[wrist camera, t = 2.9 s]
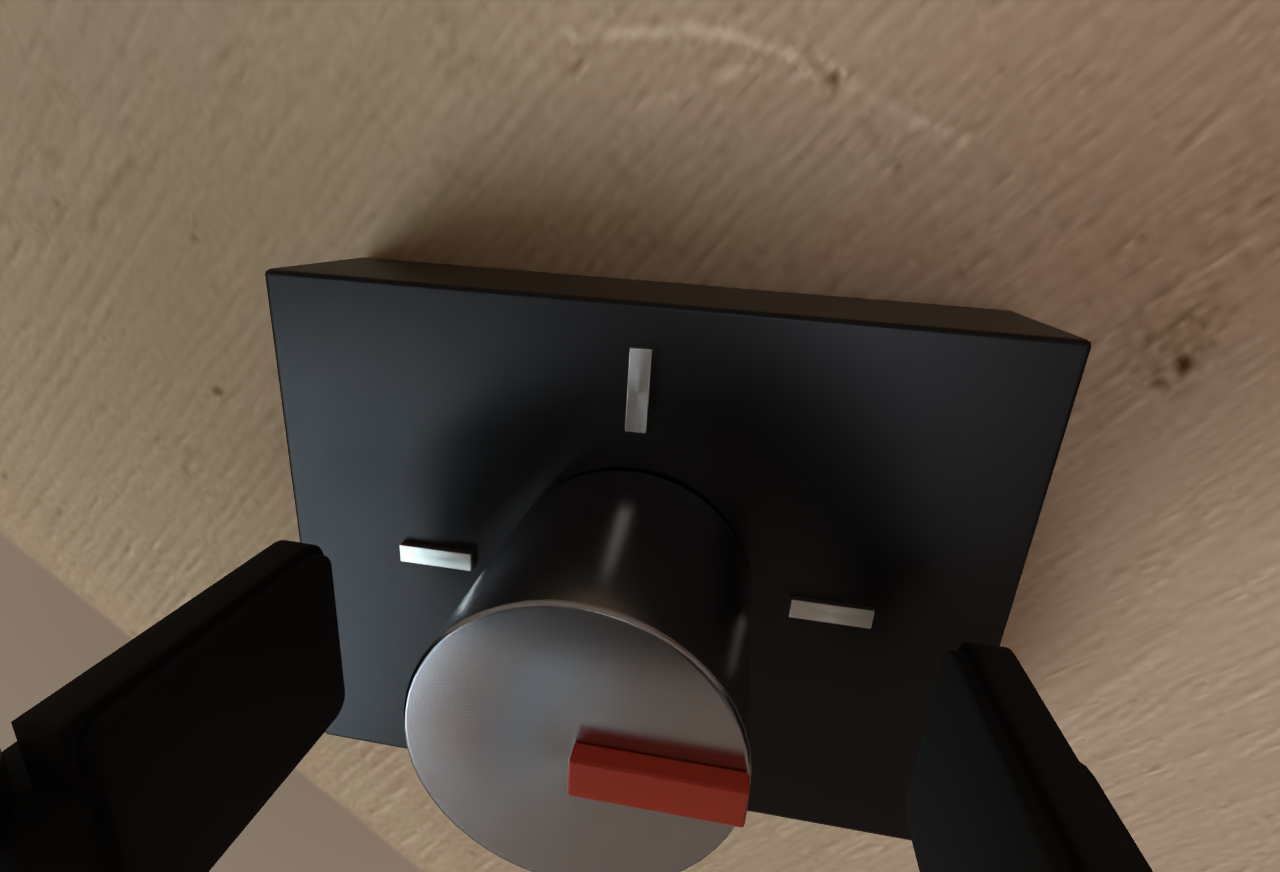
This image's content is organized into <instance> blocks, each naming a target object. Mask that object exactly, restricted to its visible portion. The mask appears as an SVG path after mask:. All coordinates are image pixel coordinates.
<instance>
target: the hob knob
mask: <svg viewBox="0 0 1280 872" xmlns="http://www.w3.org/2000/svg"><path fill="white" fill-rule="evenodd" d="M404 733H405V740H406V745H407V748H408V752H409V755H410V758H411V762H412V764H413V766H414V768H415V770H416V773H417V775H418V777H419V779H420V781H421V782H422V784H423V786H424V787H425V789H426V790H427V792H428V794H429V795H430V797H431V798H432V799H433V800H434V802H435V803H436V804H437V806H438V807H439V808H440V809H441V811H442V812H443V813H444V814H445V815H446V816H447V817H448V818H449V819H450V820H451V821H452V822H453V823H454V824H455V825H456V826H457V827H458V828H459V829H461V830H462V831H463V832H464V833H465V834H467V835H468V836H469V837H470V838H471V839H473V840H474V841H476V842H477V843H479V844H480V845H481V846H483V847H484V848H486V849H487V850H489V851H491V852H492V853H494V854H496V855H498V856H499V857H501V858H503V859H505V860H507V861H509V862H511V863H513V864H515V865H518V866H520V867H522V868H524V869H527V870H530V871H532V872H680V871H683V870H685V869H687V868H688V867H690V866H692V865H694V864H695V863H697V862H699V861H701V860H702V859H703V858H705V857H706V856H707V855H709V854H710V853H711V852H712V851H714V850H715V849H716V848H717V847H718V846H719V845H720V844H721V843H722V842H723V841H724V840H725V838H726V837H727V836H728V835H729V833H730V832H731V830H732V829H733V827H734V826H737V827H743V826H744V825H745V819H746V813H747V807H748V801H749V794H750V786H751V776H752V703H751V616H750V580H749V571H748V567H747V563H746V559H745V556H744V554H743V551H742V549H741V546H740V544H739V542H738V540H737V539H736V537H735V535H734V533H733V532H732V530H731V529H730V528H729V526H728V525H727V524H726V522H725V521H724V520H723V518H722V517H721V516H720V515H719V514H718V513H717V512H716V511H715V510H714V509H713V508H712V507H711V506H710V505H708V504H707V503H706V502H705V501H703V500H702V499H701V498H700V497H698V496H697V495H695V494H694V493H692V492H690V491H689V490H687V489H685V488H684V487H682V486H680V485H678V484H675V483H673V482H671V481H669V480H666V479H663V478H660V477H657V476H654V475H650V474H645V473H639V472H634V471H618V470H615V471H600V472H595V473H590V474H585V475H581V476H578V477H575V478H572V479H569V480H567V481H565V482H563V483H561V484H559V485H557V486H555V487H554V488H552V489H551V490H549V491H548V492H546V493H545V494H544V495H542V496H541V497H540V498H539V499H538V500H537V501H536V502H535V503H534V504H533V505H532V506H531V507H530V508H529V510H528V511H527V512H526V513H525V515H524V516H523V517H522V519H521V520H520V521H519V523H518V524H517V526H516V527H515V528H514V530H513V531H512V532H511V534H510V535H509V536H508V538H507V539H506V541H505V542H504V543H503V545H502V546H501V547H500V549H499V550H498V552H497V553H496V554H495V556H494V557H493V558H492V560H491V561H490V563H489V564H488V565H487V567H486V568H485V569H484V571H483V572H482V573H481V575H480V576H479V578H478V579H477V580H476V582H475V583H474V584H473V586H472V587H471V589H470V590H469V591H468V593H467V594H466V595H465V597H464V598H463V599H462V601H461V602H460V604H459V605H458V606H457V608H456V609H455V610H454V612H453V613H452V615H451V616H450V617H449V619H448V620H447V621H446V623H445V624H444V626H443V627H442V628H441V630H440V631H439V632H438V634H437V635H436V636H435V638H434V639H433V641H432V642H431V643H430V645H429V646H428V647H427V649H426V650H425V652H424V653H423V654H422V656H421V657H420V659H419V661H418V663H417V665H416V666H415V668H414V670H413V672H412V675H411V678H410V681H409V683H408V686H407V690H406V696H405V702H404Z"/></svg>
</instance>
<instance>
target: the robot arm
mask: <svg viewBox="0 0 1280 872" xmlns="http://www.w3.org/2000/svg"><path fill="white" fill-rule="evenodd" d="M344 699H345V686H344V676H343V667H342V658H341V648H340V639H339V630H338V620H337V611H336V602H335V592H334V583H333V573H332V565H331V561H330V559H329V558H328V557H327V556H324V554H323V551H322V550H321V548H320V547H319V546H317V545H313V544H306V543H300V542H293V541H286V540H280V541H278V542H275V543H273V544H272V545H271V546H269V547H268V548H266V549H265V550H263V551H262V552H260V553H259V554H257V555H256V556H254V557H253V558H251V559H250V560H249V561H247V562H246V563H244V564H243V565H241V566H240V567H238V568H237V569H235V570H234V571H232V572H231V573H229V574H228V575H226V576H225V577H224V578H222V579H221V580H219V581H218V582H216V583H215V584H213V585H212V586H210V587H209V588H207V589H206V590H204V591H203V592H201V593H200V594H199V595H197V596H196V597H194V598H193V599H191V600H190V601H188V602H187V603H185V604H184V605H182V606H181V607H179V608H178V609H177V610H175V611H174V612H172V613H171V614H169V615H168V616H166V617H165V618H163V619H162V620H160V621H159V622H157V623H156V624H154V625H153V626H152V627H150V628H149V629H147V630H146V631H144V632H143V633H141V634H140V635H138V636H137V637H135V638H134V639H132V640H131V641H130V642H128V643H127V644H125V645H124V646H122V647H121V648H119V649H118V650H117V651H115V652H114V653H112V654H110V655H109V656H107V657H106V658H105V659H103V660H102V661H100V662H99V663H97V664H96V665H94V666H93V667H91V668H90V669H88V670H87V671H85V672H84V673H83V674H81V675H80V676H78V677H77V678H75V679H74V680H72V681H71V682H69V683H68V684H66V685H65V686H63V687H62V688H61V689H59V690H58V691H56V692H55V693H53V694H52V695H50V696H49V697H47V698H46V699H44V700H43V701H41V702H40V703H38V704H37V705H36V706H34V707H33V708H31V709H30V710H28V711H27V712H25V713H24V714H22V715H21V716H19V717H18V718H16V719H15V720H13V721H12V722H11V723H12V726H13V729H14V732H15V735H16V738H17V742H15V743H14V744H12V745H11V746H10V747H8V748H7V749H6V750H4V751H3V752H1V749H0V872H209V871H210V869H211V868H212V867H213V866H214V865H215V863H216V862H217V861H218V860H219V858H220V857H221V856H222V855H223V854H224V852H225V851H226V850H227V849H228V847H229V846H230V845H231V844H232V843H233V842H234V840H235V839H236V838H237V837H238V836H239V834H240V833H241V832H242V831H243V830H244V828H245V827H246V826H247V825H248V824H249V822H250V821H251V820H252V819H253V817H254V816H255V815H256V814H257V812H259V810H260V809H261V808H262V807H263V806H264V804H265V803H266V802H267V801H268V799H269V798H270V797H271V796H272V795H273V793H274V792H275V791H276V790H277V789H278V787H279V786H280V785H281V784H282V783H283V781H284V780H285V779H286V778H287V777H288V775H289V774H290V773H291V772H292V771H293V769H294V768H295V767H296V766H297V765H298V763H299V762H300V761H301V760H302V759H303V757H304V756H305V755H306V754H307V753H308V751H309V750H310V749H311V748H312V747H313V745H314V744H315V743H316V742H317V740H318V739H319V738H320V737H321V736H322V734H323V733H324V732H325V731H326V730H327V728H328V727H329V726H330V725H331V724H332V722H333V721H334V720H335V719H336V717H337V716H338V715H339V713H340V711H341V709H342V706H343V703H344ZM906 817H907V823H908V828H909V831H910V835H911V839H912V843H913V847H914V851H915V855H916V859H917V862H918V866H919V870H920V872H1153V871H1152V869H1151V868H1150V866H1149V865H1148V863H1147V861H1146V860H1145V858H1144V856H1143V855H1142V853H1141V852H1140V850H1139V848H1138V847H1137V845H1136V843H1135V842H1134V840H1133V839H1132V837H1131V835H1130V834H1129V832H1128V830H1127V829H1126V827H1125V826H1124V824H1123V822H1122V821H1121V819H1120V817H1119V816H1118V814H1117V813H1116V811H1115V809H1114V808H1113V806H1112V804H1111V803H1110V801H1109V800H1108V798H1107V796H1106V795H1105V793H1104V791H1103V790H1102V788H1101V787H1100V785H1099V783H1098V782H1097V780H1096V778H1095V777H1094V776H1093V774H1092V773H1091V772H1090V771H1089V769H1088V768H1087V767H1086V766H1085V765H1083V764H1082V763H1080V762H1079V760H1078V759H1077V757H1076V755H1075V754H1074V752H1073V750H1072V749H1071V747H1070V745H1069V744H1068V742H1067V740H1066V739H1065V737H1064V735H1063V734H1062V732H1061V730H1060V729H1059V727H1058V725H1057V724H1056V722H1055V721H1054V719H1053V717H1052V716H1051V714H1050V712H1049V711H1048V709H1047V707H1046V706H1045V704H1044V702H1043V701H1042V699H1041V697H1040V696H1039V694H1038V692H1037V691H1036V689H1035V687H1034V686H1033V684H1032V682H1031V681H1030V679H1029V677H1028V676H1027V674H1026V673H1025V671H1024V669H1023V668H1022V666H1021V664H1020V663H1019V661H1018V659H1017V658H1016V656H1015V654H1014V653H1013V652H1012V651H1011V650H1010V649H1008V648H1006V647H999V646H993V645H986V644H979V643H972V642H966V641H965V642H963V643H962V644H961V645H960V646H959V648H958V650H957V651H954V650H948V651H947V652H946V653H945V655H944V657H943V661H942V664H941V668H940V672H939V676H938V679H937V683H936V687H935V690H934V694H933V698H932V702H931V705H930V709H929V713H928V717H927V720H926V724H925V728H924V732H923V735H922V739H921V743H920V747H919V750H918V754H917V758H916V762H915V765H914V769H913V773H912V777H911V780H910V784H909V788H908V792H907V797H906Z"/></svg>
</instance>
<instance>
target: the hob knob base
mask: <svg viewBox="0 0 1280 872" xmlns="http://www.w3.org/2000/svg"><path fill="white" fill-rule="evenodd" d="M265 276H266V284H267V292H268V299H269V307H270V314H271V322H272V330H273V337H274V345H275V353H276V360H277V368H278V375H279V383H280V391H281V398H282V406H283V414H284V421H285V429H286V437H287V444H288V452H289V459H290V467H291V475H292V482H293V490H294V498H295V505H296V513H297V520H298V528H299V536H300V543H306V544H313V545H317V546H319V547H320V548H321V550H322V551H323V554H324V556H327V557H328V558H329V559H330V561H331V565H332V573H333V583H334V592H335V602H336V611H337V620H338V630H339V639H340V648H341V658H342V667H343V676H344V686H345V699H344V703H343V706H342V709H341V711H340V713H339V715H338V716H337V717H336V719H335V720H334V721H333V722H332V724H331V725H330V726H329V727H328V728H327V730H326V731H325V732H326V733H327V734H330V735H336V736H341V737H347V738H352V739H358V740H363V741H369V742H374V743H380V744H385V745H391V746H396V747H402V748H407V745H406V740H405V733H404V702H405V696H406V690H407V686H408V683H409V681H410V678H411V675H412V672H413V670H414V668H415V666H416V665H417V663H418V661H419V659H420V657H421V656H422V654H423V653H424V652H425V650H426V649H427V647H428V646H429V645H430V643H431V642H432V641H433V639H434V638H435V636H436V635H437V634H438V632H439V631H440V630H441V628H442V627H443V626H444V624H445V623H446V621H447V620H448V619H449V617H450V616H451V615H452V613H453V612H454V610H455V609H456V608H457V606H458V605H459V604H460V602H461V601H462V599H463V598H464V597H465V595H466V594H467V593H468V591H469V590H470V589H471V587H472V586H473V584H474V583H475V582H476V580H477V579H478V578H479V576H480V575H481V573H482V572H483V571H484V569H485V568H486V567H487V565H488V564H489V563H490V561H491V560H492V558H493V557H494V556H495V554H496V553H497V552H498V550H499V549H500V547H501V546H502V545H503V543H504V542H505V541H506V539H507V538H508V536H509V535H510V534H511V532H512V531H513V530H514V528H515V527H516V526H517V524H518V523H519V521H520V520H521V519H522V517H523V516H524V515H525V513H526V512H527V511H528V510H529V508H530V507H531V506H532V505H533V504H534V503H535V502H536V501H537V500H538V499H539V498H540V497H541V496H542V495H544V494H545V493H546V492H548V491H549V490H551V489H552V488H554V487H555V486H557V485H559V484H561V483H563V482H565V481H567V480H569V479H572V478H575V477H578V476H581V475H585V474H590V473H595V472H600V471H615V470H618V471H634V472H639V473H645V474H650V475H654V476H657V477H660V478H663V479H666V480H669V481H671V482H673V483H675V484H678V485H680V486H682V487H684V488H685V489H687V490H689V491H690V492H692V493H694V494H695V495H697V496H698V497H700V498H701V499H702V500H703V501H705V502H706V503H707V504H708V505H710V506H711V507H712V508H713V509H714V510H715V511H716V512H717V513H718V514H719V515H720V516H721V517H722V518H723V520H724V521H725V522H726V524H727V525H728V526H729V528H730V529H731V530H732V532H733V533H734V535H735V537H736V539H737V540H738V542H739V544H740V546H741V549H742V551H743V554H744V556H745V559H746V563H747V567H748V571H749V580H750V616H751V703H752V776H751V786H750V794H749V801H748V807H747V811H753V812H758V813H764V814H769V815H775V816H780V817H786V818H791V819H797V820H802V821H808V822H813V823H819V824H824V825H830V826H835V827H841V828H846V829H852V830H857V831H863V832H868V833H874V834H879V835H885V836H890V837H896V838H901V839H907V840H912V839H911V835H910V831H909V828H908V823H907V817H906V797H907V792H908V788H909V784H910V780H911V777H912V773H913V769H914V765H915V762H916V758H917V754H918V750H919V747H920V743H921V739H922V735H923V732H924V728H925V724H926V720H927V717H928V713H929V709H930V705H931V702H932V698H933V694H934V690H935V687H936V683H937V679H938V676H939V672H940V668H941V664H942V661H943V657H944V655H945V653H946V652H947V651H948V650H954V651H957V650H958V648H959V646H960V645H961V644H962V643H963V642H965V641H966V642H972V643H979V644H986V645H993V646H1000V643H1001V640H1002V636H1003V633H1004V630H1005V627H1006V623H1007V620H1008V617H1009V614H1010V610H1011V607H1012V604H1013V601H1014V597H1015V594H1016V591H1017V587H1018V584H1019V581H1020V578H1021V574H1022V571H1023V568H1024V565H1025V561H1026V558H1027V555H1028V551H1029V548H1030V545H1031V542H1032V538H1033V535H1034V532H1035V529H1036V525H1037V522H1038V519H1039V516H1040V512H1041V509H1042V506H1043V502H1044V499H1045V496H1046V493H1047V489H1048V486H1049V483H1050V480H1051V476H1052V473H1053V470H1054V466H1055V463H1056V460H1057V457H1058V453H1059V450H1060V447H1061V444H1062V440H1063V437H1064V434H1065V431H1066V427H1067V424H1068V421H1069V417H1070V414H1071V411H1072V408H1073V404H1074V401H1075V398H1076V395H1077V391H1078V388H1079V385H1080V382H1081V378H1082V375H1083V372H1084V368H1085V365H1086V362H1087V359H1088V355H1089V352H1090V349H1091V342H1090V341H1088V340H1086V339H1084V338H1081V337H1078V336H1076V335H1073V334H1071V333H1068V332H1065V331H1063V330H1060V329H1057V328H1055V327H1052V326H1049V325H1047V324H1044V323H1041V322H1039V321H1036V320H1033V319H1031V318H1028V317H1025V316H1023V315H1020V314H1017V313H1015V312H1012V311H1005V310H993V309H981V308H969V307H957V306H944V305H932V304H920V303H908V302H896V301H884V300H872V299H860V298H848V297H835V296H823V295H811V294H799V293H787V292H775V291H763V290H751V289H739V288H726V287H714V286H702V285H690V284H678V283H666V282H654V281H642V280H630V279H617V278H605V277H593V276H581V275H569V274H557V273H545V272H533V271H521V270H508V269H496V268H484V267H472V266H460V265H448V264H436V263H424V262H412V261H399V260H387V259H375V258H356V259H347V260H339V261H331V262H322V263H314V264H306V265H298V266H289V267H281V268H273V269H269V270H267V271H266V273H265ZM407 749H408V748H407Z"/></svg>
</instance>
